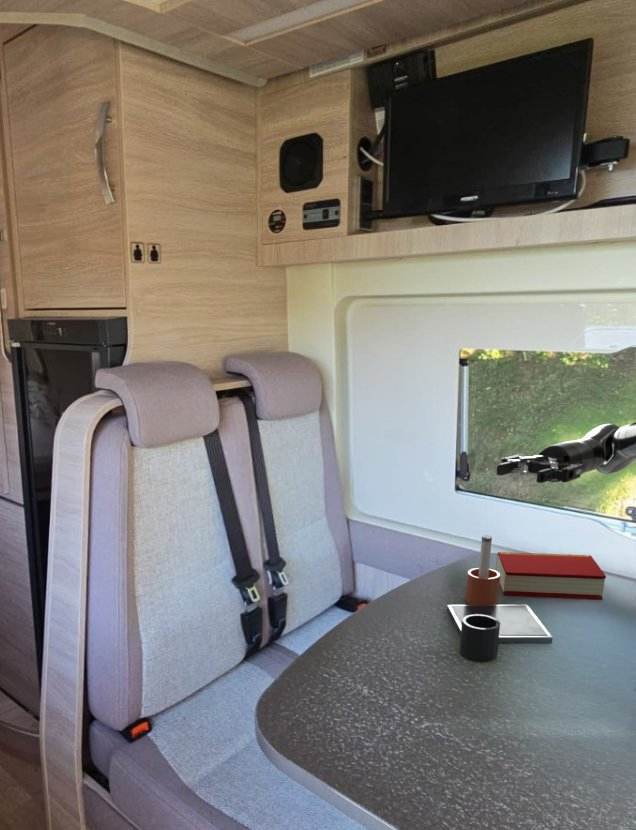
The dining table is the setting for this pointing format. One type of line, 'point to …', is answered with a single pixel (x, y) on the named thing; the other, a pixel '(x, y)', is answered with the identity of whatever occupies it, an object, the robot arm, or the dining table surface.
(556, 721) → the dining table surface
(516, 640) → the tablet
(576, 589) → the book
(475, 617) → the holder
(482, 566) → the stylus
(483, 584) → the pen cup
